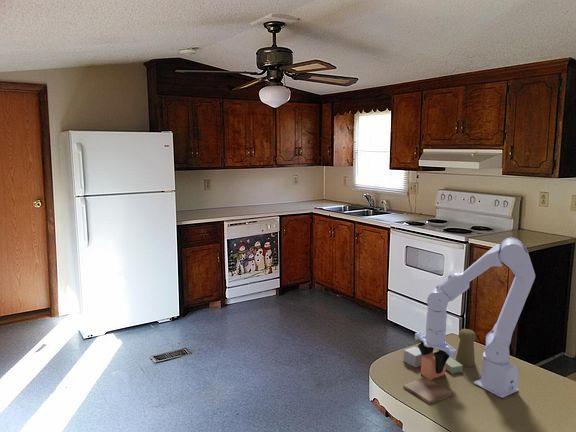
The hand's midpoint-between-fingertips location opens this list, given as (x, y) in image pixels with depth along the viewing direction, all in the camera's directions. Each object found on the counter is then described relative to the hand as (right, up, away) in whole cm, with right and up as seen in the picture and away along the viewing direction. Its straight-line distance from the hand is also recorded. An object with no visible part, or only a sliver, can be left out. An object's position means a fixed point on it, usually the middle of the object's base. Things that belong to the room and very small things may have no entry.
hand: (433, 369), depth 146 cm
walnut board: (-5, -3, -9) cm, 11 cm away
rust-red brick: (0, -2, 0) cm, 2 cm away
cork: (+13, -1, +8) cm, 15 cm away
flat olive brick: (+7, -1, +4) cm, 8 cm away
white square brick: (-4, 0, +8) cm, 9 cm away
